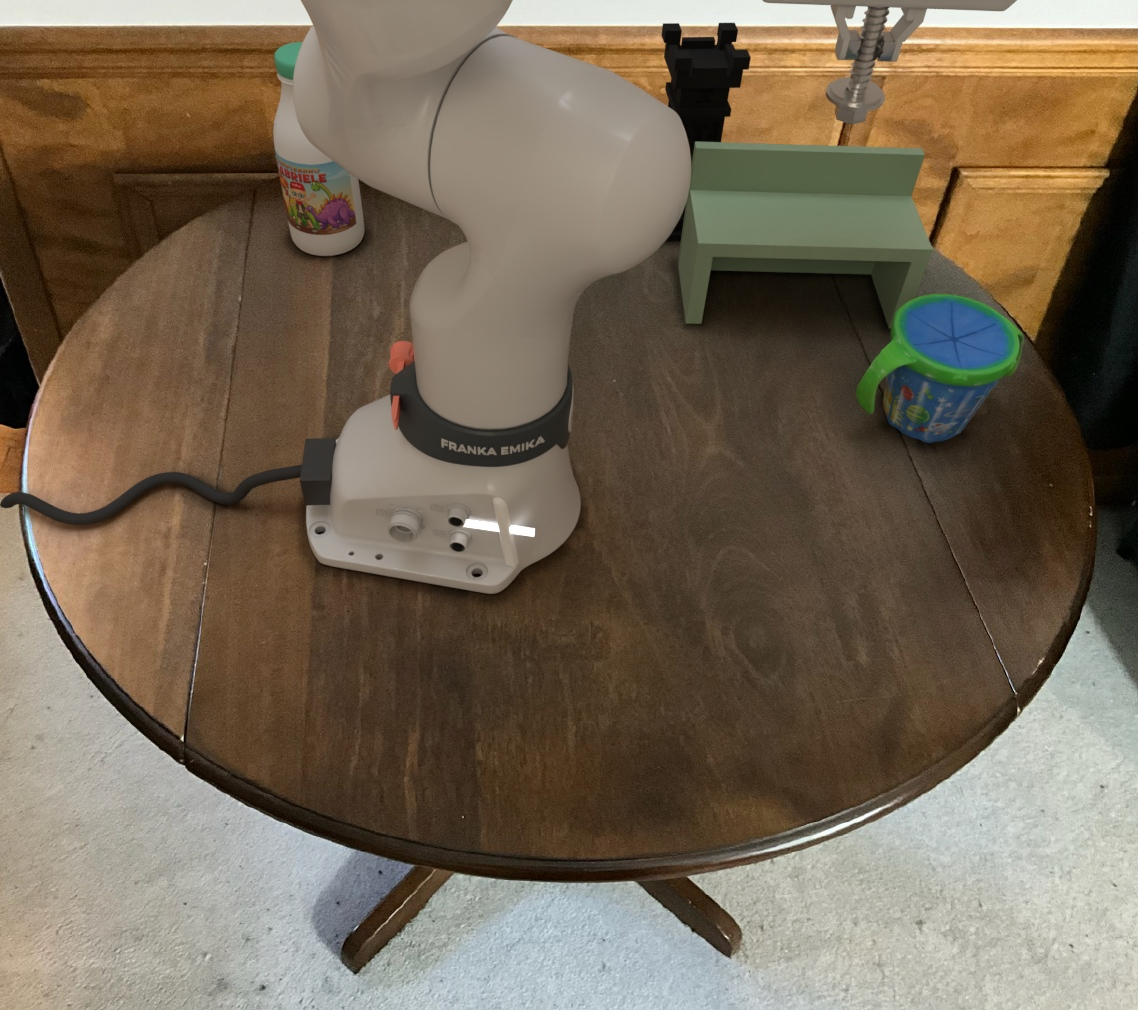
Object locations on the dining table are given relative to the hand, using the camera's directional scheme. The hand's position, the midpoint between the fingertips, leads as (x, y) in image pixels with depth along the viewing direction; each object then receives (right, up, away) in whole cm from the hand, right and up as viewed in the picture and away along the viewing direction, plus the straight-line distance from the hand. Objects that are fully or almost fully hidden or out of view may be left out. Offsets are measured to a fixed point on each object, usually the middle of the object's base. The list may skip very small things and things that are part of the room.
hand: (865, 57), depth 84 cm
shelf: (-1, -14, +23) cm, 27 cm away
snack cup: (+9, -28, +12) cm, 32 cm away
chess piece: (-12, -5, +31) cm, 34 cm away
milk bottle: (-49, -8, +27) cm, 57 cm away
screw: (0, -3, +4) cm, 5 cm away
